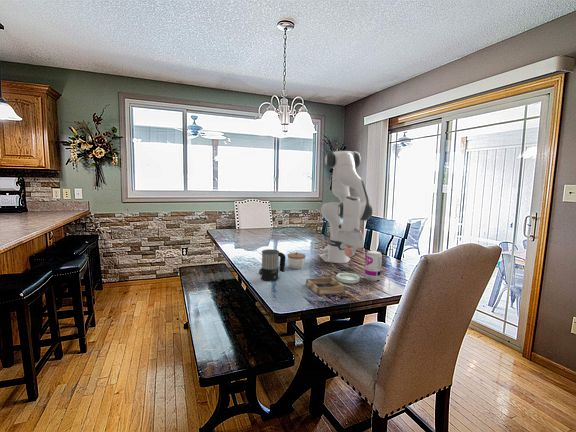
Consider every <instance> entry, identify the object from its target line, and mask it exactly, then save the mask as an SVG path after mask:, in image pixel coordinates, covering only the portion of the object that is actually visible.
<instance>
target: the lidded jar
mask: <svg viewBox="0 0 576 432" xmlns="http://www.w3.org/2000/svg"><path fill="white" fill-rule="evenodd" d="M305 262H306V254H305V253H302V252H298V251H296V252H290V253H288V254H287V263H288V265H289V266H290V268H291V269H292V270H293V269H295V270H299V269H302V267H304V266H305Z"/></svg>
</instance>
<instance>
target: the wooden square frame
mask: <svg viewBox="0 0 576 432" xmlns="http://www.w3.org/2000/svg"><path fill="white" fill-rule="evenodd" d="M326 284H331V286H326V287H325V286H323V287H319V286H317V285H326ZM305 285H306V286H307V287H308V288H309V289H311V290H312V292H314V293H315V294H316V295H318V296H319V295H321V296H322V295H329V294H330V295H333V294H340V293H341V294H342V293H346V285H344V283H342V282H340V281H338V280H337V279H336V278H333V277H332V276H326V277H315V278H314V277H313V278H306V281H305Z"/></svg>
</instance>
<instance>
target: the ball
mask: <svg viewBox="0 0 576 432" xmlns="http://www.w3.org/2000/svg"><path fill="white" fill-rule="evenodd" d="M351 251H352V247H348V248H346V249H345V255H346V256H348V257H349V258H351V257H354V255H351Z"/></svg>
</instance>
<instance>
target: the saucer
mask: <svg viewBox="0 0 576 432" xmlns="http://www.w3.org/2000/svg"><path fill="white" fill-rule="evenodd" d="M335 279H336V280H337V281H338V282H340V283H342V284H351V285H352V284H358V283H359V282H360V280H361V276H359V275H357V274H356V273H352V272H351V273H350V272H338V273H337V274H336V275H335Z"/></svg>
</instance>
